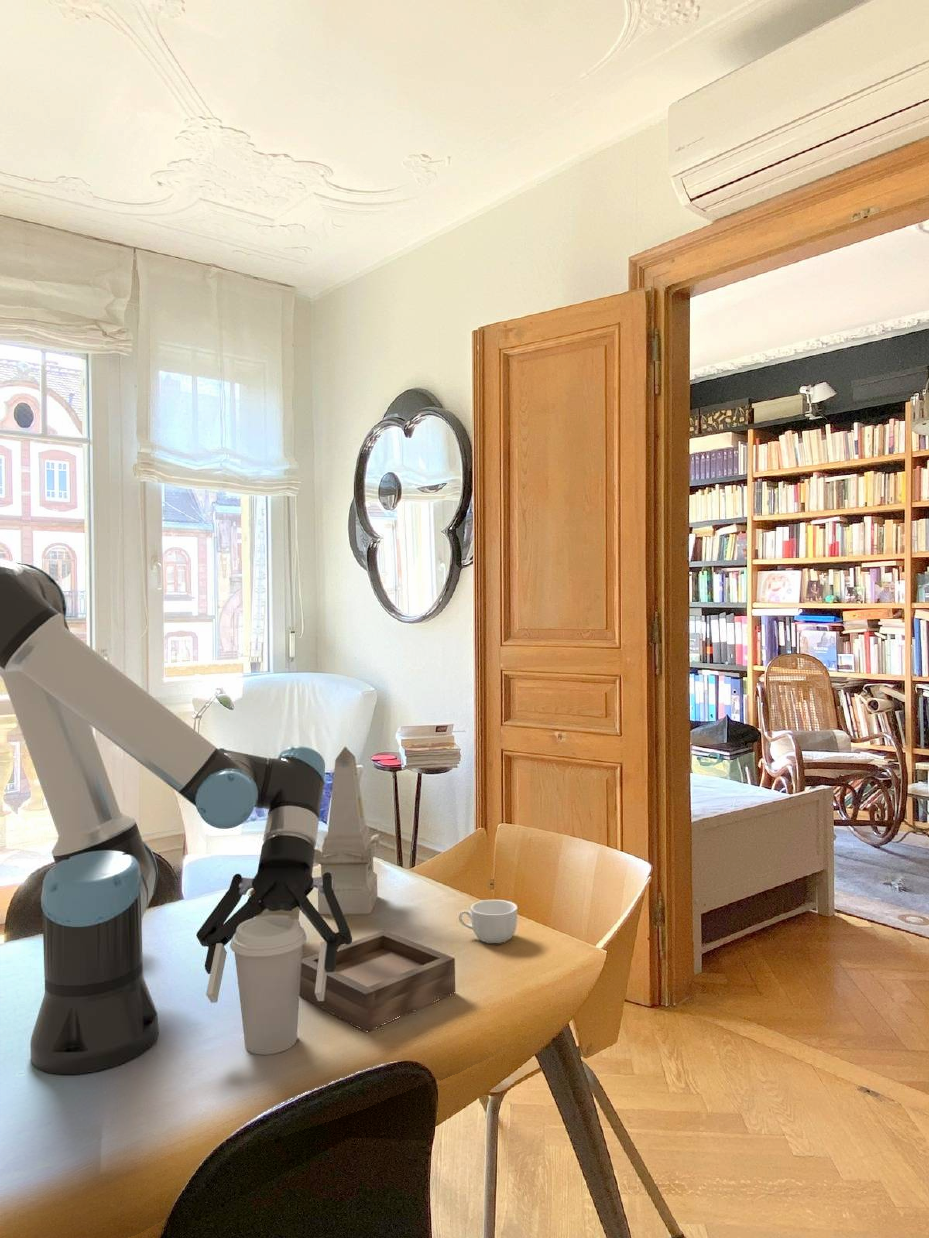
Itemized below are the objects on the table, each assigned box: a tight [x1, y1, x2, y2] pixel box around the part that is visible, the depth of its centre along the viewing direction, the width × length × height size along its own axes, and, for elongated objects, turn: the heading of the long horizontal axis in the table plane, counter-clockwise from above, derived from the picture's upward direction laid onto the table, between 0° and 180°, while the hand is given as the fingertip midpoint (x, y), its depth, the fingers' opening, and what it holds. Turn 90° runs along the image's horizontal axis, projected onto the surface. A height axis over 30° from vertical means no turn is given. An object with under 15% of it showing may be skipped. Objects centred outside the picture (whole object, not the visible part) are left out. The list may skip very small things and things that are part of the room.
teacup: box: [458, 899, 518, 944], centre depth 143 cm, size 10×8×5 cm
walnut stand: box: [299, 929, 456, 1032], centre depth 123 cm, size 16×16×5 cm
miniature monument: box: [313, 746, 380, 915], centre depth 162 cm, size 10×10×30 cm
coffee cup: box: [229, 915, 307, 1056], centre depth 110 cm, size 10×10×15 cm
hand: (265, 997), depth 108 cm, fingers open, 13 cm apart
